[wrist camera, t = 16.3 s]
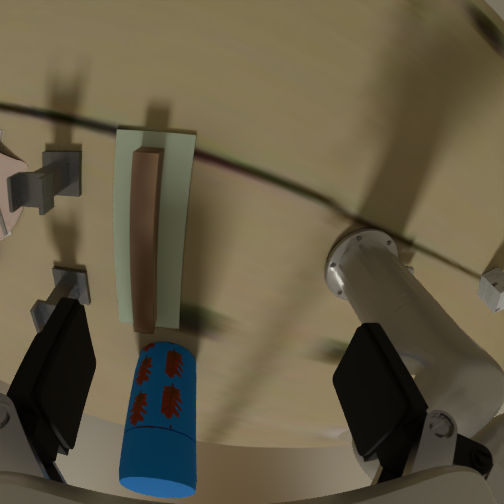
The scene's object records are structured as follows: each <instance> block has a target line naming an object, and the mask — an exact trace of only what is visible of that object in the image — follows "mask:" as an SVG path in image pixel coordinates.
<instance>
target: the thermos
mask: <svg viewBox="0 0 504 504" xmlns="http://www.w3.org/2000/svg"><path fill="white" fill-rule="evenodd" d="M119 481H120V483H121V485H123V486H124V487H126V488H127V489H130V490H132V491H135V492H138V493H141V494H145V495H150V496H155V497H164V498H182V497H188V496H191V495H193V494H194V493H195V490H196V482H197V475H196V362H195V359H194V357H193V355H192V354H191V353H190V352H189V351H188V350H187V349H185V348H183V347H182V346H180V345H177V344H173V343H170V342H157V343H152V344H149V345H148V346H146V347H145V348H143V350H142V351H141V353H140V356H139V359H138V363H137V366H136V370H135V374H134V379H133V384H132V390H131V395H130V400H129V406H128V412H127V418H126V424H125V430H124V437H123V444H122V451H121V458H120V467H119Z"/></svg>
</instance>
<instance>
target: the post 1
mask: <svg viewBox="0 0 504 504" xmlns="http://www.w3.org/2000/svg"><path fill="white" fill-rule="evenodd" d="M81 160H82V151H44V152H42V162H43V167H42V168H40V169H38V170H36V171H34V172H18V173H16V174H14V175H12V176H10V177H8V178H7V191H8V202H9V211H10V212H12V213H13V212H15V211H16V210H18V209H19V208H20V207H22V206H25V207H39V214H40V215H45V214H46V213H47V212H48V211H49V210H51V209H52V208H53V207H54V196H55V195H62V196H77V197H79V196H80V195H81Z"/></svg>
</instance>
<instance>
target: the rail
mask: <svg viewBox="0 0 504 504" xmlns="http://www.w3.org/2000/svg"><path fill="white" fill-rule="evenodd" d="M164 151H165V148H156V147H142V146H141V147H140V148H138V149H136V150H135V151H133V156H132V170H131V190H130V280H131V299H132V314H133V326H134V332H139V333H147V334H154V329H155V324H156V319H157V250H158V226H159V209H160V195H161V182H162V171H163V161H164Z"/></svg>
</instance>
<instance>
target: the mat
mask: <svg viewBox="0 0 504 504" xmlns="http://www.w3.org/2000/svg"><path fill="white" fill-rule="evenodd" d="M195 141H196V135H191V134H181V133H170V132H157V131H142V130H122V129H118V130H117V135H116V148H115V165H114V195H113V226H114V257H115V274H116V287H117V299H118V309H119V318H120V322H125V323H132V324H133V314H132V299H131V280H130V190H131V170H132V156H133V151H135V150H136V149H138V148H140V147H141V146H142V147H156V148H165V151H164V161H163V171H162V182H161V195H160V209H159V226H158V250H157V319H156V324H155V326H156V327H165V328H174V329H179V318H180V297H181V280H182V265H183V251H184V239H185V228H186V217H187V207H188V198H189V189H190V180H191V172H192V164H193V156H194V148H195Z"/></svg>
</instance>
